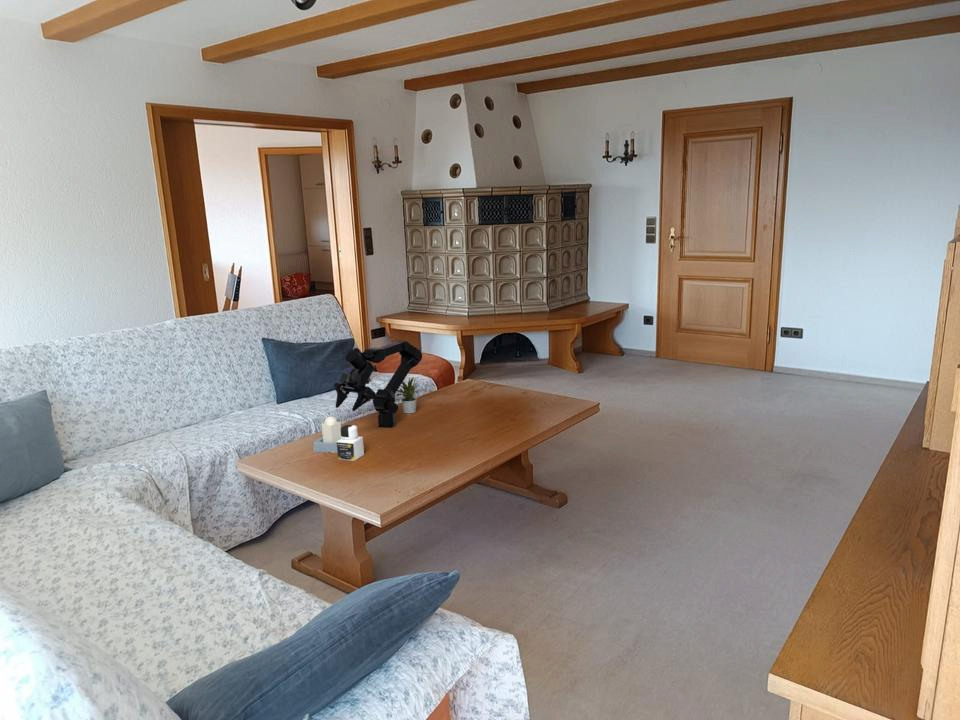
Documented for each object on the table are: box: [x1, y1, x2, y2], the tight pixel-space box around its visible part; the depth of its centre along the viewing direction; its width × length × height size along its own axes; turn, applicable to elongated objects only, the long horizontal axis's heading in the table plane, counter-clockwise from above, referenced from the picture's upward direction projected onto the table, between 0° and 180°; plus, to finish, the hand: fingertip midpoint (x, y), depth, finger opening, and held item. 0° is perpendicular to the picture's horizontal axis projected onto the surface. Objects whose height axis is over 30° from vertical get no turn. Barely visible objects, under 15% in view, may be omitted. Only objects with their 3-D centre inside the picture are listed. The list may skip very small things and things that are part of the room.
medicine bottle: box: [336, 424, 365, 462], centre depth 243 cm, size 7×7×12 cm
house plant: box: [395, 376, 423, 414], centre depth 297 cm, size 14×14×16 cm
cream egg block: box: [321, 416, 342, 443], centre depth 254 cm, size 5×5×12 cm
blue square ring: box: [312, 435, 338, 454], centre depth 255 cm, size 11×11×4 cm
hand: (344, 409), depth 259 cm, fingers open, 9 cm apart
